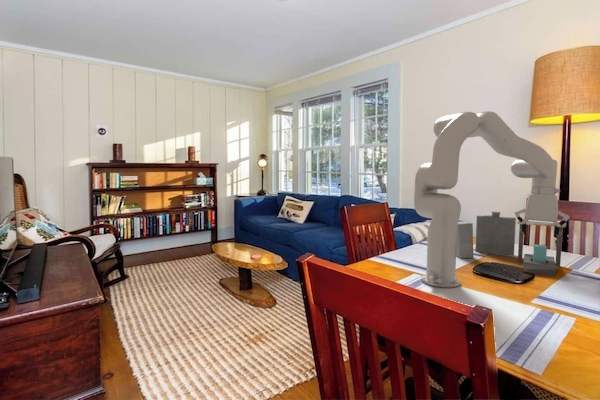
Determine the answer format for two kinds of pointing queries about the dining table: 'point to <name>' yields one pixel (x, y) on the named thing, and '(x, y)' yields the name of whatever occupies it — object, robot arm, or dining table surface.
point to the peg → (539, 253)
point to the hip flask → (495, 234)
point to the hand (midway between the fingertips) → (539, 235)
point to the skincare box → (464, 240)
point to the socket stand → (550, 264)
